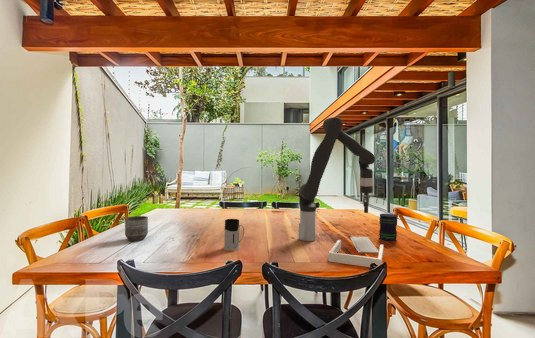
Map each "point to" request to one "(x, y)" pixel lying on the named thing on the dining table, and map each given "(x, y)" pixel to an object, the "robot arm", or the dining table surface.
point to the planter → (136, 228)
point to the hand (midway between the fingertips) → (366, 212)
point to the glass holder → (232, 235)
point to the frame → (353, 257)
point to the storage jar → (388, 227)
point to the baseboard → (364, 245)
